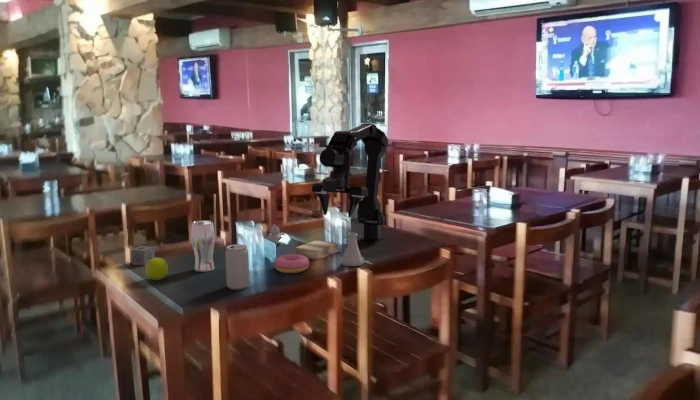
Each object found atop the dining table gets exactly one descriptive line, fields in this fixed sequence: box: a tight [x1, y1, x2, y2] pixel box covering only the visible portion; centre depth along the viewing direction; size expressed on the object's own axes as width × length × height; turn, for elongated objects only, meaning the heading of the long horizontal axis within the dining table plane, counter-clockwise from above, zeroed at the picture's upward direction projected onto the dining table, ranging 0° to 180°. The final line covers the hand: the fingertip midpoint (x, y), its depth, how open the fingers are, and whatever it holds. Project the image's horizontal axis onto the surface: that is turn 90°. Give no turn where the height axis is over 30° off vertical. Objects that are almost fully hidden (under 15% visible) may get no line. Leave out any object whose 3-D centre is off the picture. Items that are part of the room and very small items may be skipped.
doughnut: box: [273, 253, 310, 274], centre depth 186 cm, size 11×11×4 cm
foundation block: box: [295, 239, 339, 261], centre depth 203 cm, size 12×9×3 cm
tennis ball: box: [144, 257, 169, 281], centre depth 176 cm, size 7×7×7 cm
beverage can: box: [224, 243, 250, 291], centre depth 168 cm, size 6×6×12 cm
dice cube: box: [130, 245, 156, 267], centre depth 193 cm, size 5×5×5 cm
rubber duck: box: [267, 223, 285, 245], centre depth 216 cm, size 5×7×8 cm
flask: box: [341, 232, 364, 267], centre depth 191 cm, size 7×7×10 cm
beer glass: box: [190, 219, 215, 273], centre depth 185 cm, size 7×7×15 cm
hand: (337, 216), depth 197 cm, fingers open, 9 cm apart
